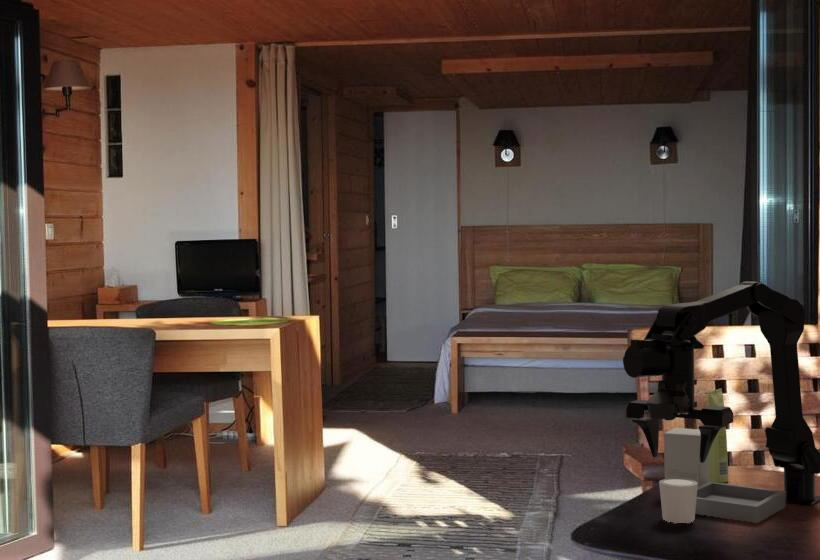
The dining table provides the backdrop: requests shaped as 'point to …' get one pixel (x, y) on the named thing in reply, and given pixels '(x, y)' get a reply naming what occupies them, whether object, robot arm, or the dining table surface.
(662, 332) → the robot arm
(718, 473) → the tube
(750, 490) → the tray
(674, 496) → the white cup
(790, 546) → the dining table surface
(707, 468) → the supplement box
